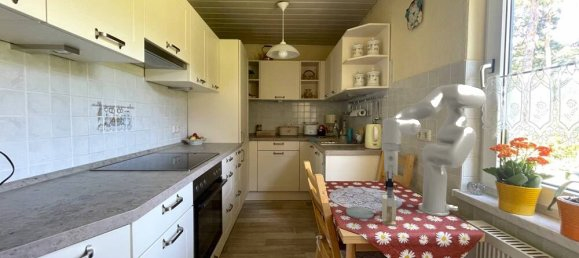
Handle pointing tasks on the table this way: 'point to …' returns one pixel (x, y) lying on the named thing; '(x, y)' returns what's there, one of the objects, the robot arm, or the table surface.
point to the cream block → (384, 208)
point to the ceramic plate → (360, 212)
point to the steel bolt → (390, 197)
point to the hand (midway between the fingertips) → (389, 190)
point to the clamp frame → (389, 217)
